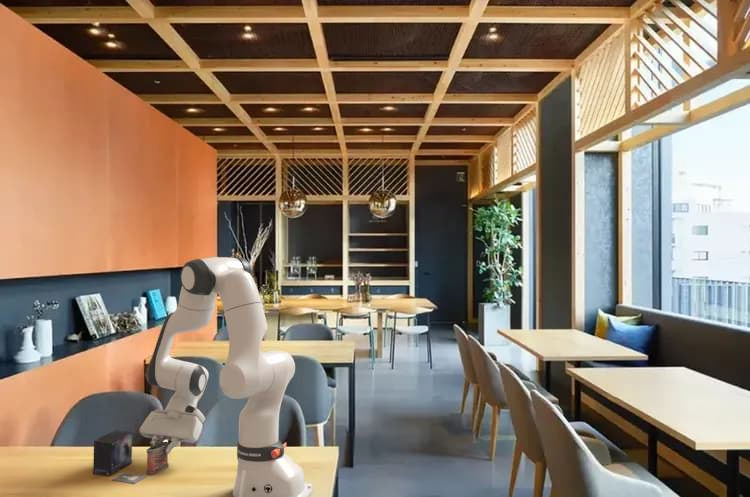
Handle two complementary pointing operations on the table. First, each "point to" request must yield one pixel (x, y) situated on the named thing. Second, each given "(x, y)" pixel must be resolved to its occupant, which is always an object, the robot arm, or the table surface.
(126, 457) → the small box
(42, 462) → the table surface
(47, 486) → the table surface
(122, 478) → the card
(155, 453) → the lighter
